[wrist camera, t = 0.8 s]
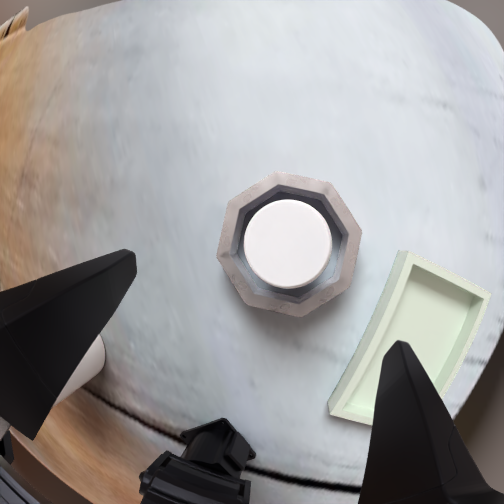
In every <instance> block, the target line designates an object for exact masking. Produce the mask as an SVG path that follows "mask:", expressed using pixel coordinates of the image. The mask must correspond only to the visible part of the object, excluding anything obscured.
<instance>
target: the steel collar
mask: <svg viewBox="0 0 504 504" xmlns="http://www.w3.org/2000/svg"><path fill="white" fill-rule="evenodd" d="M279 191H282V192H287V193H291V194H296V195H301V196H305V197H310V198H314V199H318V200H321V202H322V203H323V205H324V206H325V208H326V209H327V211H328V212H329V214H330V216H331V217H332V219H333V220H334V222H335V223H336V225H337V227H338V228H339V230H340V231H341V233H342V235H343V236H342V241H341V245H340V250H339V254H338V259H337V263H336V268H335V272H334V276H332V277H331V278H329V279H328V280H326V281H324V282H323V283H321V284H320V285H318V286H316V287H315V288H313V289H312V290H310V291H308V292H307V293H305V294H304V295H302V296H300V297H299V298H298V297H294V296H289V295H285V294H281V293H277V292H272V291H268V290H264V289H260V288H258V287H257V285H256V283H255V282H254V280H253V279H252V277H251V275H250V274H249V272H248V271H247V269H246V267H245V266H244V264H243V263H242V261H241V259H240V258H239V256H238V255H237V250H238V245H239V241H240V236H241V232H242V227H243V223H244V218H245V214H246V213H247V212H248V211H250V210H252V209H253V208H255V207H256V206H258V205H259V204H261V203H262V202H264V201H265V200H267V199H269V198H270V197H272V196H273V195H275V194H276V193H278V192H279ZM361 231H362V230H361V229H360V227H359V225H358V224H357V222H356V220H355V219H354V217H353V216H352V214H351V212H350V211H349V209H348V208H347V206H346V205H345V203H344V201H343V200H342V198H341V197H340V195H339V194H338V192H337V191H336V189H335V188H334V186H333V185H332V183H329V182H325V181H321V180H316V179H312V178H307V177H303V176H298V175H293V174H288V173H283V172H278V171H276V172H273V173H272V174H270V175H268V176H267V177H265V178H264V179H262V180H261V181H259V182H258V183H256V184H254V185H253V186H251V187H250V188H248V189H247V190H245V191H244V192H242V193H241V194H239V195H238V196H236V197H235V198H233V199H232V200H230V201H229V202H228V205H227V210H226V214H225V219H224V223H223V228H222V232H221V237H220V241H219V246H218V251H217V255H216V256H217V259H218V260H219V262H220V264H221V265H222V267H223V269H224V270H225V272H226V273H227V275H228V277H229V278H230V280H231V281H232V283H233V285H234V286H235V288H236V289H237V291H238V293H239V294H240V296H241V297H242V299H243V301H244V302H245V304H247V305H250V306H254V307H258V308H262V309H266V310H270V311H274V312H279V313H283V314H287V315H292V316H296V317H300V318H301V317H303V316H305V315H306V314H308V313H310V312H311V311H313V310H315V309H316V308H318V307H320V306H321V305H323V304H324V303H326V302H328V301H329V300H331V299H332V298H334V297H336V296H337V295H339V294H340V293H342V292H343V291H345V290H346V289H348V288H349V287H350V284H351V280H352V276H353V272H354V267H355V263H356V259H357V254H358V249H359V245H360V240H361V235H362V232H361Z"/></svg>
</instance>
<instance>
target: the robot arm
mask: <svg viewBox="0 0 504 504" xmlns="http://www.w3.org/2000/svg"><path fill="white" fill-rule="evenodd" d="M136 274H137V266H136V255H135V253H134V252H132V251H130V250H127V249H122V250H119V251H116V252H113V253H110V254H107V255H104V256H101V257H98V258H95V259H92V260H89V261H86V262H83V263H80V264H77V265H75V266H72V267H69V268H66V269H63V270H61V271H58V272H55V273H52V274H50V275H47V276H44V277H41V278H39V279H37V280H33V281H31V282H28V283H25V284H23V285H20V286H17V287H14V288H11V289H8V290H5V291H1V292H0V504H53V503H52V502H51V501H49V500H48V499H47V498H46V497H45V496H43V495H42V494H41V493H40V492H38V491H37V490H36V489H35V488H34V487H33V486H32V485H30V484H29V483H28V482H27V481H26V480H25V479H24V478H23V477H22V476H21V475H20V474H19V473H18V472H17V471H16V470H15V469H14V468H13V467H12V466H11V463H12V462H13V460H14V456H13V450H12V444H11V436H10V430H9V428H10V426H11V425H12V426H13V427H14V428H15V429H17V430H18V431H19V432H21V433H22V434H24V435H25V436H26V437H28V438H29V439H31V440H32V441H33V440H34V438H35V437H36V435H37V433H38V431H39V429H40V428H41V426H42V424H43V422H44V420H45V419H46V417H47V415H48V414H49V412H50V410H51V408H52V407H53V405H54V403H55V402H56V400H57V398H58V396H59V395H60V393H61V391H62V390H63V388H64V387H65V385H66V383H67V382H68V380H69V379H70V377H71V375H72V374H73V372H74V371H75V369H76V368H77V366H78V365H79V363H80V362H81V360H82V359H83V357H84V356H85V354H86V353H87V351H88V350H89V348H90V347H91V345H92V344H93V342H94V341H95V339H96V338H97V336H98V335H99V334H100V332H101V331H102V329H103V328H104V326H105V325H106V324H107V322H108V321H109V319H110V318H111V317H112V315H113V314H114V312H115V311H116V309H117V308H118V306H119V304H120V303H121V301H122V299H123V297H124V296H125V294H126V292H127V291H128V289H129V287H130V286H131V284H132V282H133V281H134V279H135V277H136ZM222 422H224V423H222ZM184 435H185V436H184ZM180 437H181V438H182V439H183V440H184V442H185V443H186V444H187V447H186V449H185V450H184V452H183V454H182V455H181V457H178V456H176V455H174V454H172V453H171V452H169V451H167V450H166V451H165V452H164V453H163V454H161V455H160V456H159V457H158V458H157V459H156V460H155V461H154V462H153V463H152V464H151V465H150V466H149V467H148V468H147V470H145V471H143V472H141V473H140V475H139V479H140V481H141V484H140V490H139V493H140V494H141V495H143V499H142V501H141V503H140V504H249V499H250V487H251V481H248V480H242V479H239V478H240V475H241V471H243V470H244V469H245V466H246V462H247V461H248V460H251V459H254V458H255V457H256V453H255V452H254V451H253V450H252V449H251V447H250V445H249V444H248V443H247V442H246V440H245V439H244V438H243V437H242V436H241V434H240V433H239V432H237V431H236V430H235V429H234V427H233V426H232V425H231V424H230V423H229V421H228V420H227V419H225V418H220V419H218V420H215V421H212V422H210V423H207V424H204V425H201V426H198V427H195V428H192V429H189V430H186V431H183V432H182V433H181V434H180ZM251 455H252V456H251ZM358 504H504V494H503V493H500V492H498V491H496V490H494V489H493V488H491V487H490V486H489V485H488V484H487V483H486V481H485V480H484V478H483V476H482V474H481V473H480V471H479V469H478V467H477V465H476V464H475V462H474V460H473V458H472V456H471V455H470V453H469V451H468V449H467V447H466V446H465V444H464V442H463V440H462V438H461V436H460V434H459V432H458V430H457V428H456V426H455V425H454V422H453V420H452V418H451V416H450V414H449V412H448V410H447V408H446V407H445V405H444V403H443V401H442V399H441V397H440V395H439V394H438V392H437V390H436V388H435V386H434V385H433V383H432V381H431V379H430V378H429V376H428V374H427V372H426V371H425V369H424V367H423V366H422V364H421V362H420V361H419V359H418V357H417V356H416V354H415V352H414V351H413V349H412V347H411V346H410V344H409V343H408V342H405V341H401V340H397V341H395V343H394V344H393V345H392V346H391V347H390V349H389V350H388V351H387V352H386V354H385V355H384V357H383V360H382V366H381V372H380V377H379V383H378V388H377V393H376V399H375V406H374V416H373V424H372V432H371V439H370V446H369V452H368V458H367V463H366V469H365V474H364V479H363V484H362V488H361V493H360V497H359V501H358Z"/></svg>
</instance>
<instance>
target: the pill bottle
mask: <svg viewBox="0 0 504 504" xmlns="http://www.w3.org/2000/svg"><path fill="white" fill-rule="evenodd" d="M244 252H245V256H246V259H247V262H248V264H249V266H250V268H251V269H252V270H253V272H254V273H255V274H256V275H257V276H258V277H259V278H260V279H261V280H263V281H264V282H266V283H267V284H269V285H272V286H275V287H278V288H285V289H291V288H298V287H302V286H305V285H307V284H309V283H311V282H312V281H314V280H315V279H316V278H318V277H319V276H320V275H321V273H322V272H323V271H324V270H325V268H326V266H327V264H328V262H329V260H330V257H331V252H332V237H331V232H330V229H329V227H328V224H327V223H326V221H325V219H324V218H323V216H322V215H321V214H320V213H319V212H318V211H317V210H316V209H314V208H313V207H312V206H310V205H308V204H306V203H303V202H301V201H297V200H279V201H275V202H272V203H270V204H268V205H266V206H264V207H263V208H261V209H260V210H259V211H258V212H257V213H256V214H255V215H254V216H253V218H252V219H251V221H250V222H249V224H248V226H247V229H246V232H245V236H244Z"/></svg>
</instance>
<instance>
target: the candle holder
mask: <svg viewBox="0 0 504 504" xmlns="http://www.w3.org/2000/svg"><path fill="white" fill-rule="evenodd" d="M104 363H105V348H104V344H103V341H102V338H101V336H100V334H99V335H98V336H97V338H96V339H95V341H94V342H93V344H92V345H91V347H90V348H89V350H88V351H87V353H86V354H85V356H84V357H83V359H82V360H81V362H80V363H79V365H78V366H77V368H76V369H75V371H74V372H73V374H72V375H71V377H70V379H69V380H68V382H67V383H66V385H65V387H64V388H63V390H62V391H61V393H60V395H59V396H58V398H57V400H56V402H55V403H54V405H53V407H54V406H56V405H57V404H58V403H60V402H61V401H62V400H64V399H65V398H66V397H68V396H69V395H70V394H72V393H73V392H74V391H76V390H77V389H78V388H80V387H81V386H82V385H84V384H85V383H86V382H88V381H89V380H90V379H92V378H93V377H94V376H95V375H97V374H98V373H99V372H100V371H101V369H102V368H103V366H104ZM53 407H52V408H53ZM52 408H51V409H52Z"/></svg>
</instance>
